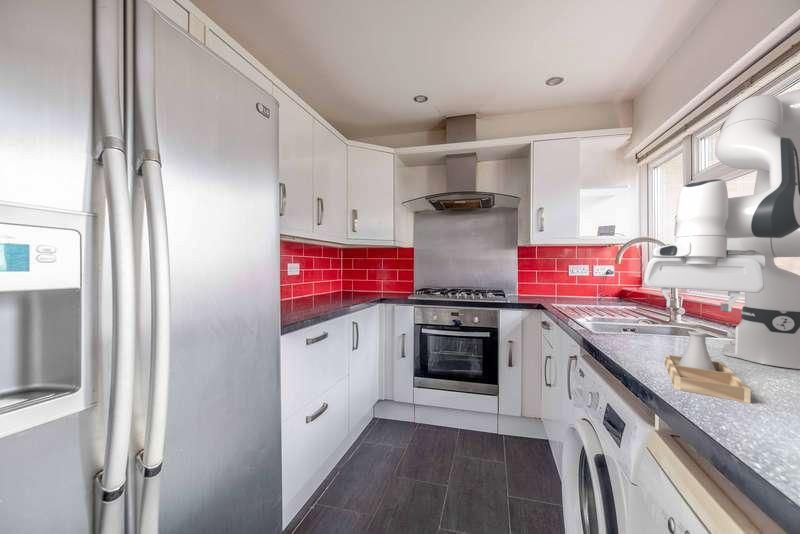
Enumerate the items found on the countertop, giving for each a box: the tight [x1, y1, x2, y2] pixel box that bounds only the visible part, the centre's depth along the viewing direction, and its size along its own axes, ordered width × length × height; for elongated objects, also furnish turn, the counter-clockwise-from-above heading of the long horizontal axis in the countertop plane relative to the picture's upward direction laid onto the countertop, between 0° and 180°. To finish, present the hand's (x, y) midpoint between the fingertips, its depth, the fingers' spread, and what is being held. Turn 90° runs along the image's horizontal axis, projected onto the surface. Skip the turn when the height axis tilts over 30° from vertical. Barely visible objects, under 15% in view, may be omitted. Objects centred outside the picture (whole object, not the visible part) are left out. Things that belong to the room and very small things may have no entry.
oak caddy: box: [664, 354, 752, 404], centre depth 70 cm, size 20×11×2 cm, turn 145°
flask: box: [678, 330, 716, 371], centre depth 74 cm, size 7×7×10 cm
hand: (697, 309), depth 74 cm, fingers open, 8 cm apart
